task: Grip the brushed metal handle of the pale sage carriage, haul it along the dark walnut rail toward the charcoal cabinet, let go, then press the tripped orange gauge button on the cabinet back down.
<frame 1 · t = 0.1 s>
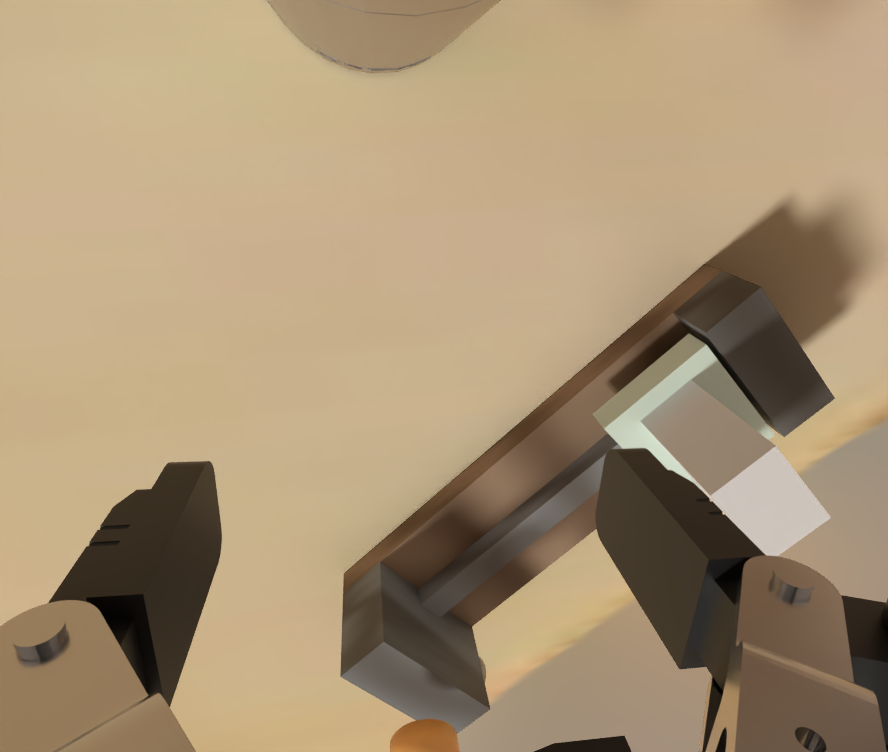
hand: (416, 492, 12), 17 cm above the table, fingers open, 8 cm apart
carriage: (718, 456, 26), point 7 cm above the table, slide at 6.0 cm
rail: (567, 459, 33), on the table
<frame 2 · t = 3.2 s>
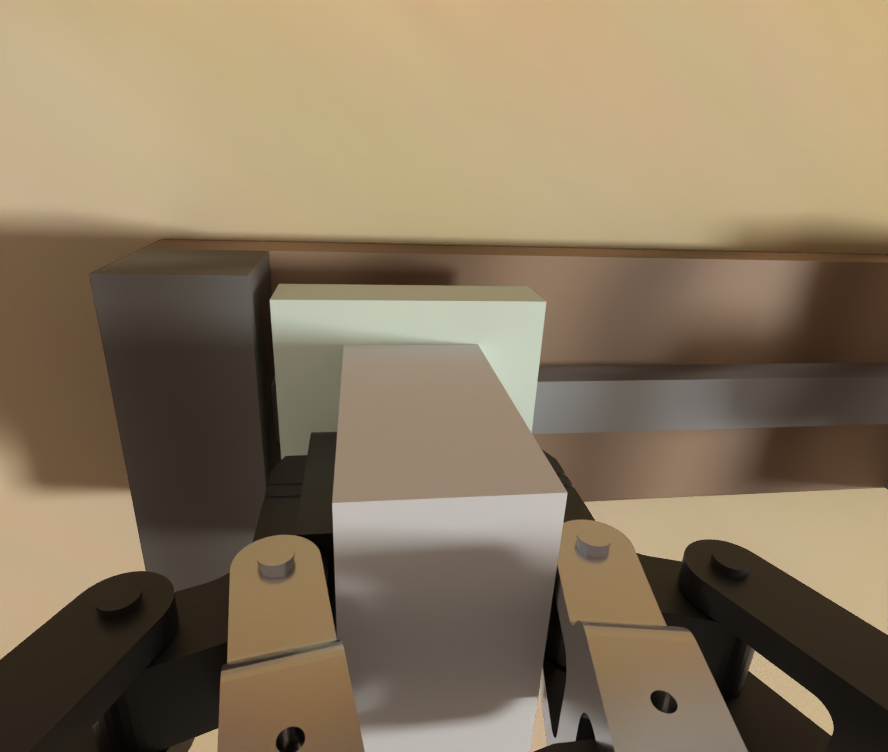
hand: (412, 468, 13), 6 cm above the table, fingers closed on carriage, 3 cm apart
carriage: (418, 497, 11), point 7 cm above the table, slide at 5.9 cm, touching gripper
rail: (578, 372, 19), on the table
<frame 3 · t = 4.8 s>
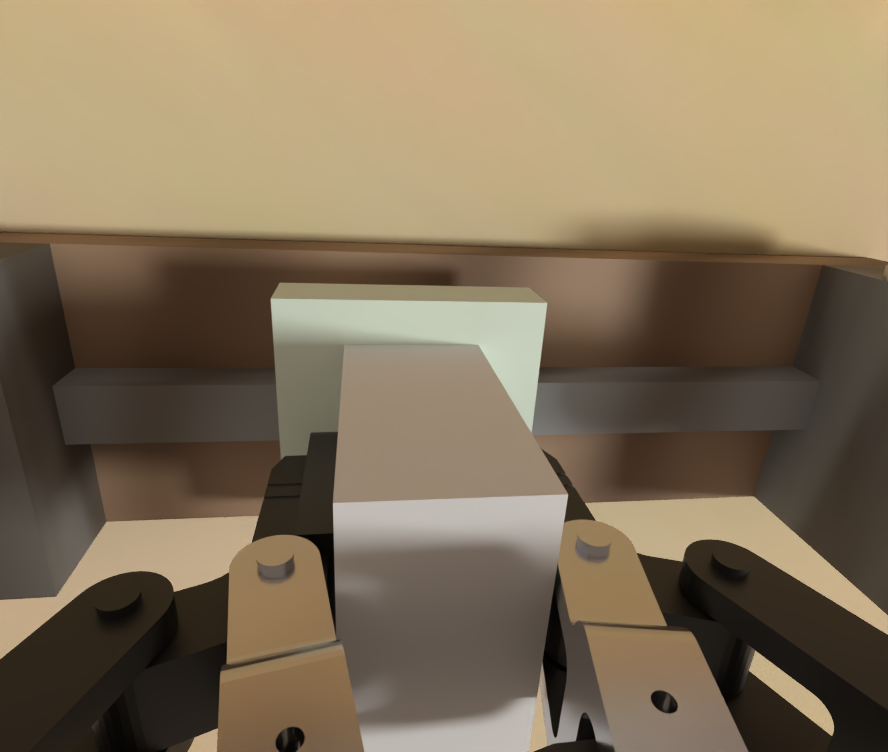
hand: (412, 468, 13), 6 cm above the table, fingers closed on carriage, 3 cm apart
carriage: (418, 497, 11), point 7 cm above the table, slide at 0.8 cm, touching gripper
rail: (422, 373, 18), on the table
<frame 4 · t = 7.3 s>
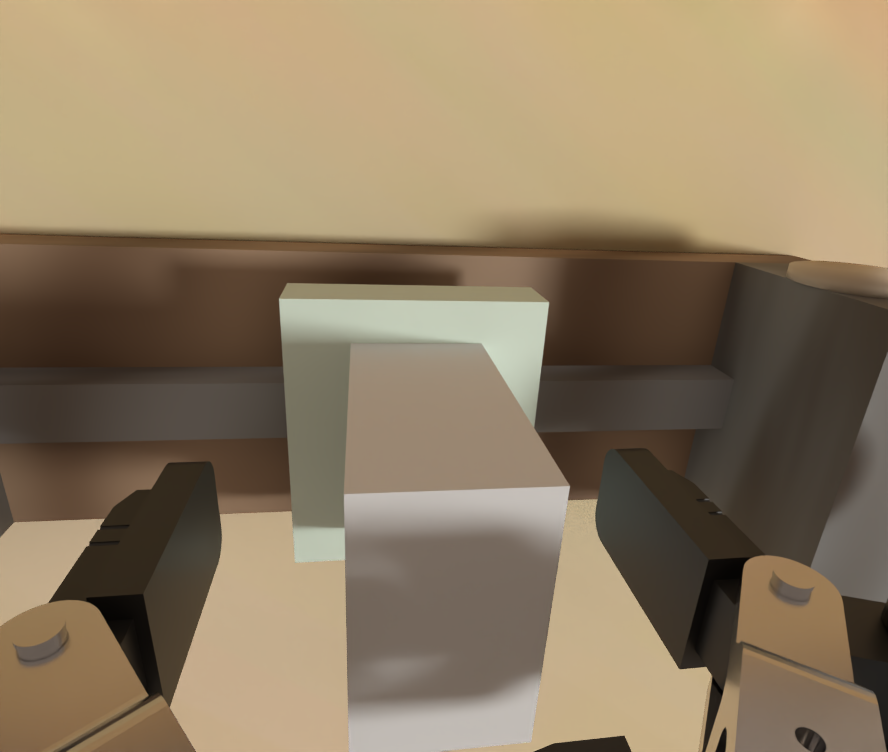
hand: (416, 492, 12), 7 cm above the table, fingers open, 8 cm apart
carriage: (423, 492, 12), point 7 cm above the table, slide at -2.0 cm
rail: (338, 373, 18), on the table
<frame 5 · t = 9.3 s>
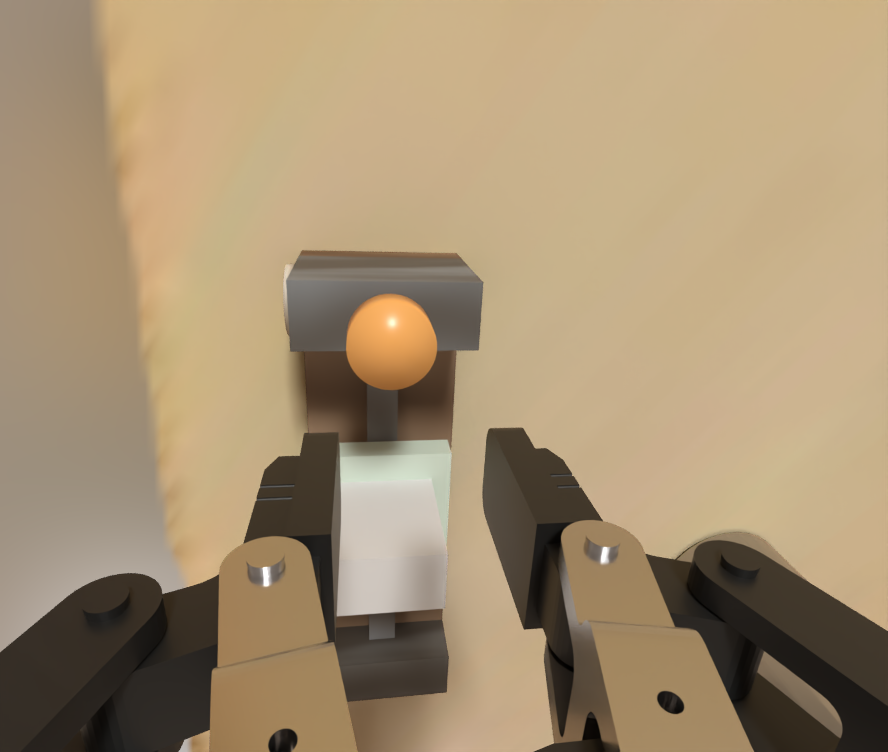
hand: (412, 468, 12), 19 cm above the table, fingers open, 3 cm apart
carriage: (385, 531, 28), point 7 cm above the table, slide at -2.0 cm
gauge button: (391, 341, 21), point 10 cm above the table, slide at 2.2 cm
rail: (380, 489, 35), on the table
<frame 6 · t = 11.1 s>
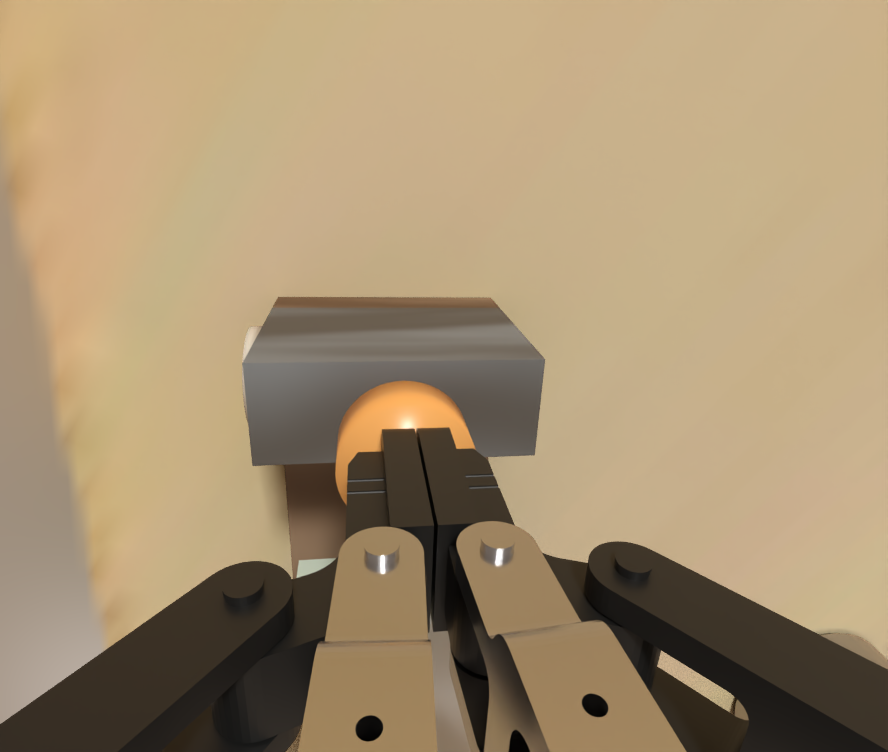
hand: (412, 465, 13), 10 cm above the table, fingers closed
carriage: (396, 694, 20), point 7 cm above the table, slide at -2.0 cm
gauge button: (405, 455, 13), point 9 cm above the table, slide at 1.3 cm, touching gripper
rail: (387, 598, 27), on the table
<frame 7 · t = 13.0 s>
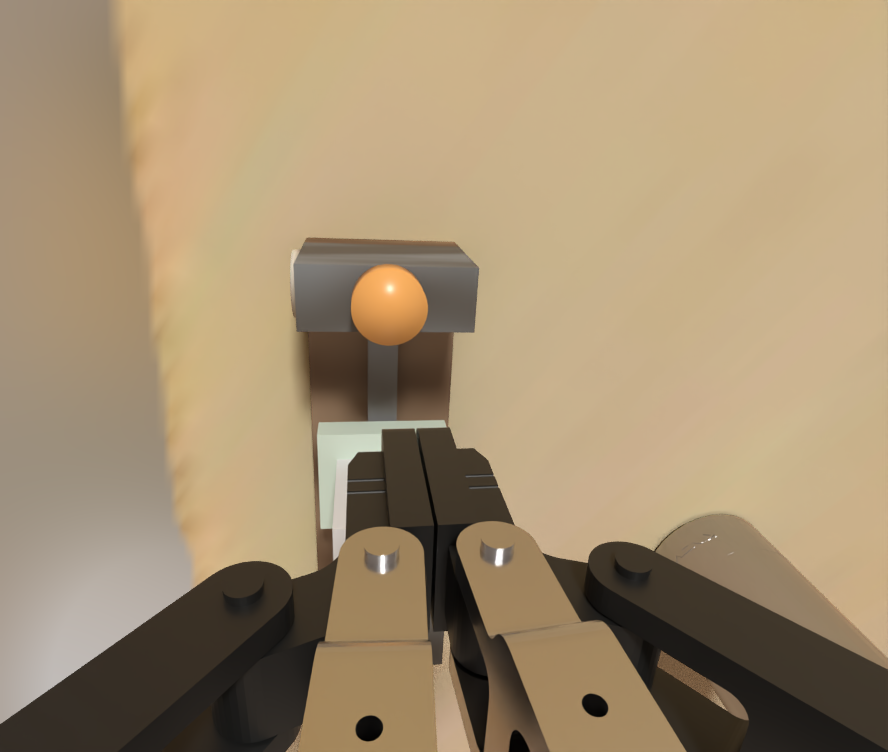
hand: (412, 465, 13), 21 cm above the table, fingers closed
carriage: (384, 505, 29), point 7 cm above the table, slide at -2.0 cm
gauge button: (388, 304, 24), point 8 cm above the table, slide at -0.2 cm
rail: (379, 469, 36), on the table
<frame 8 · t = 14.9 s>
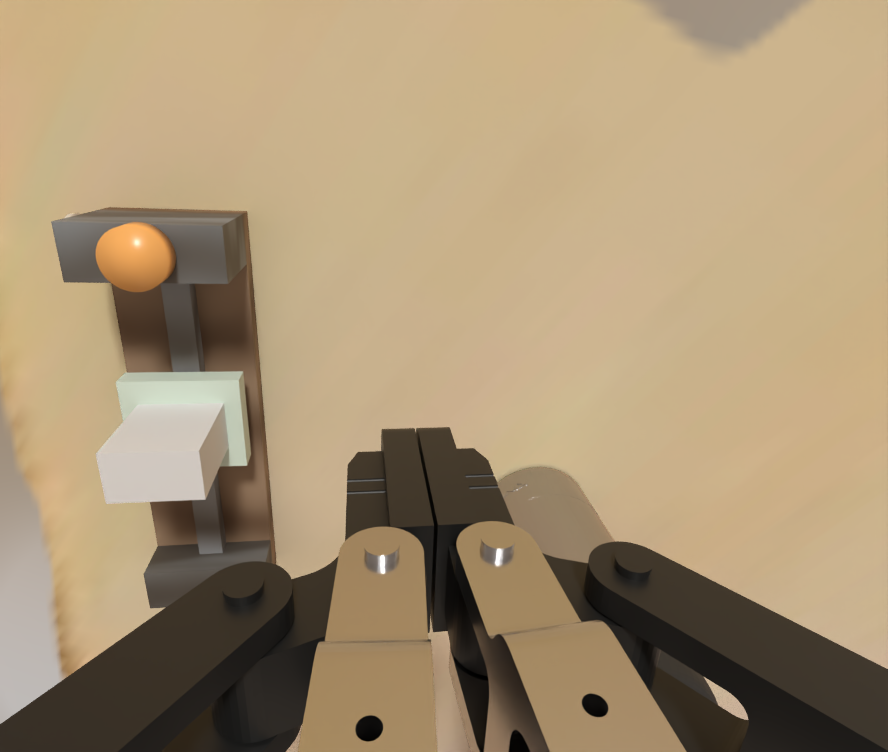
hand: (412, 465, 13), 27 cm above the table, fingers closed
carriage: (173, 443, 33), point 7 cm above the table, slide at -2.0 cm
gauge button: (137, 257, 28), point 8 cm above the table, slide at -0.2 cm
rail: (205, 421, 40), on the table
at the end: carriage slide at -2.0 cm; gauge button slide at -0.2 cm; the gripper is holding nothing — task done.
